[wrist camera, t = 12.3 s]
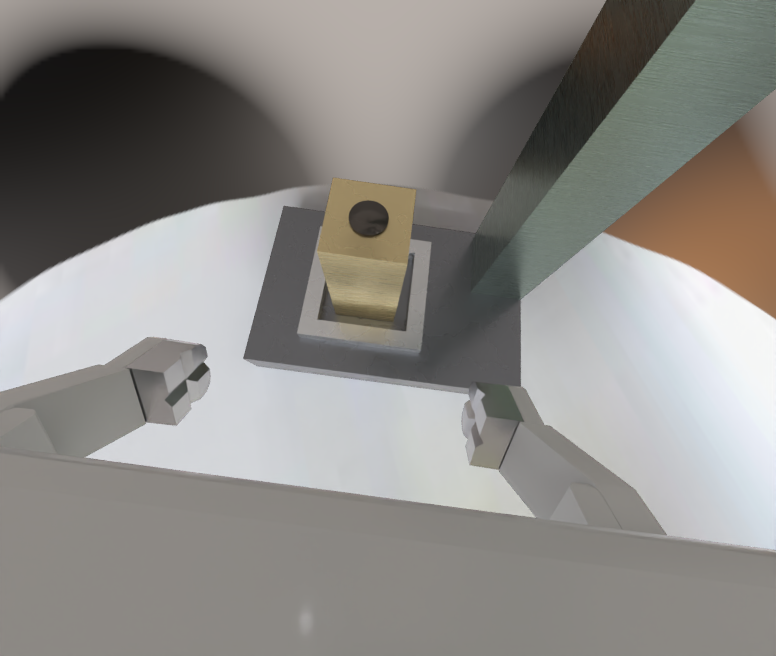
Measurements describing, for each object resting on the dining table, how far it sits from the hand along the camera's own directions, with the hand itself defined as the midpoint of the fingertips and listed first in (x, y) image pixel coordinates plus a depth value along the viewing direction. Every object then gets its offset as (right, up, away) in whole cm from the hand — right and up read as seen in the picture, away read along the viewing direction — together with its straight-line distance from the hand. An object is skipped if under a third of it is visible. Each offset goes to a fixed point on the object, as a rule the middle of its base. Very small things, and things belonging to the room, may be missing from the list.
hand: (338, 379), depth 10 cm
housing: (0, +4, +15) cm, 15 cm away
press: (+2, +6, +18) cm, 19 cm away
